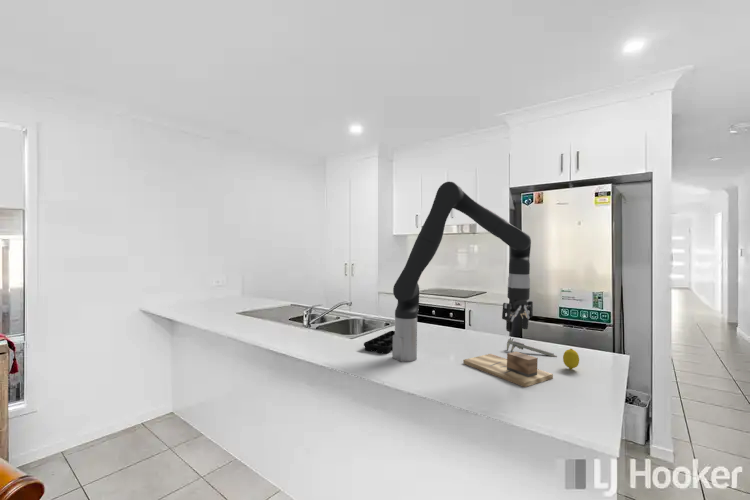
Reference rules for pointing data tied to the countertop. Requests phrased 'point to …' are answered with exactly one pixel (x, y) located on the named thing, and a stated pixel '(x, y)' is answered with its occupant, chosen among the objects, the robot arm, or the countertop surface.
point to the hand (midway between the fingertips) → (517, 330)
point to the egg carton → (381, 343)
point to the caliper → (527, 347)
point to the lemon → (571, 358)
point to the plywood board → (505, 370)
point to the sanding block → (522, 364)
